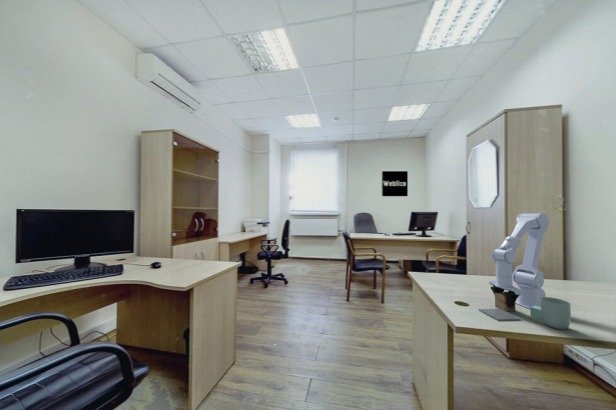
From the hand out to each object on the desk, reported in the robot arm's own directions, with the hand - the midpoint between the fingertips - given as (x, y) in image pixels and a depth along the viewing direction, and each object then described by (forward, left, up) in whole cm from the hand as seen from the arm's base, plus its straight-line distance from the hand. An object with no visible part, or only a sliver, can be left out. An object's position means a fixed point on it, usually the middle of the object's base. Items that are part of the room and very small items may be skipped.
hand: (505, 305), depth 106 cm
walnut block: (0, 0, -2) cm, 2 cm away
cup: (-5, +17, -2) cm, 18 cm away
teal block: (-7, +9, -2) cm, 11 cm away
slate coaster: (+8, +6, -2) cm, 11 cm away
